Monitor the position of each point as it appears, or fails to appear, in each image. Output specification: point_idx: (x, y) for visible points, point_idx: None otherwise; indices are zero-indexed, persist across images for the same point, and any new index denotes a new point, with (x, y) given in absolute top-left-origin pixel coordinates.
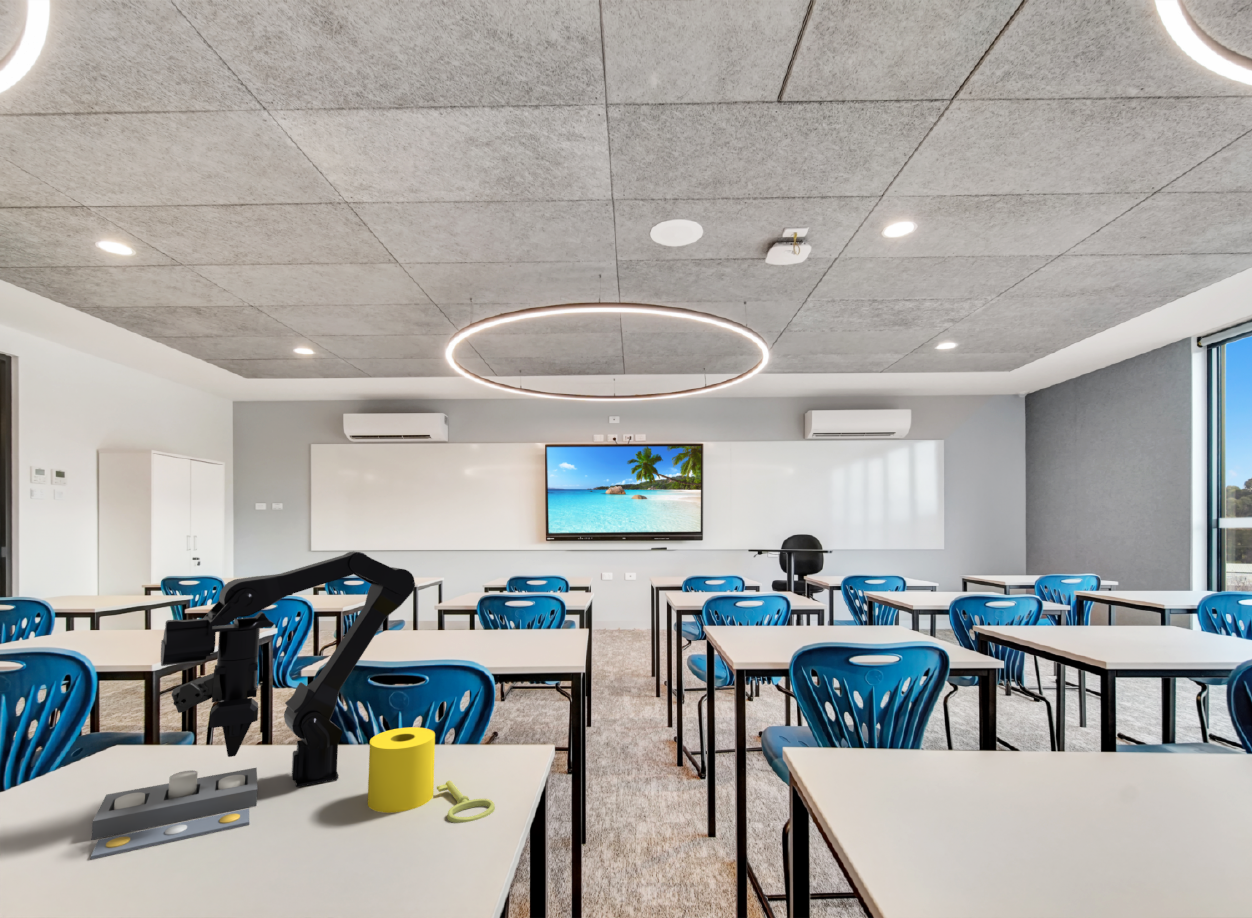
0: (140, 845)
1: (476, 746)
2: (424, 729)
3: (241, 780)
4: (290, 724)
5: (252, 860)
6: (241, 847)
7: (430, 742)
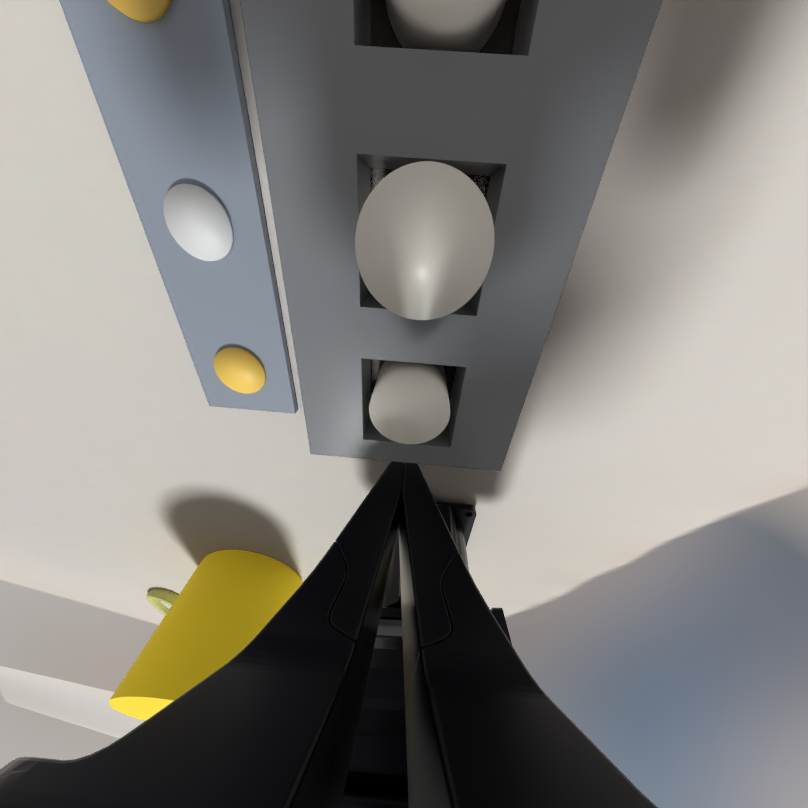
0: (92, 86)
1: None
2: None
3: (382, 432)
4: (373, 694)
5: (30, 390)
6: (93, 378)
7: None
